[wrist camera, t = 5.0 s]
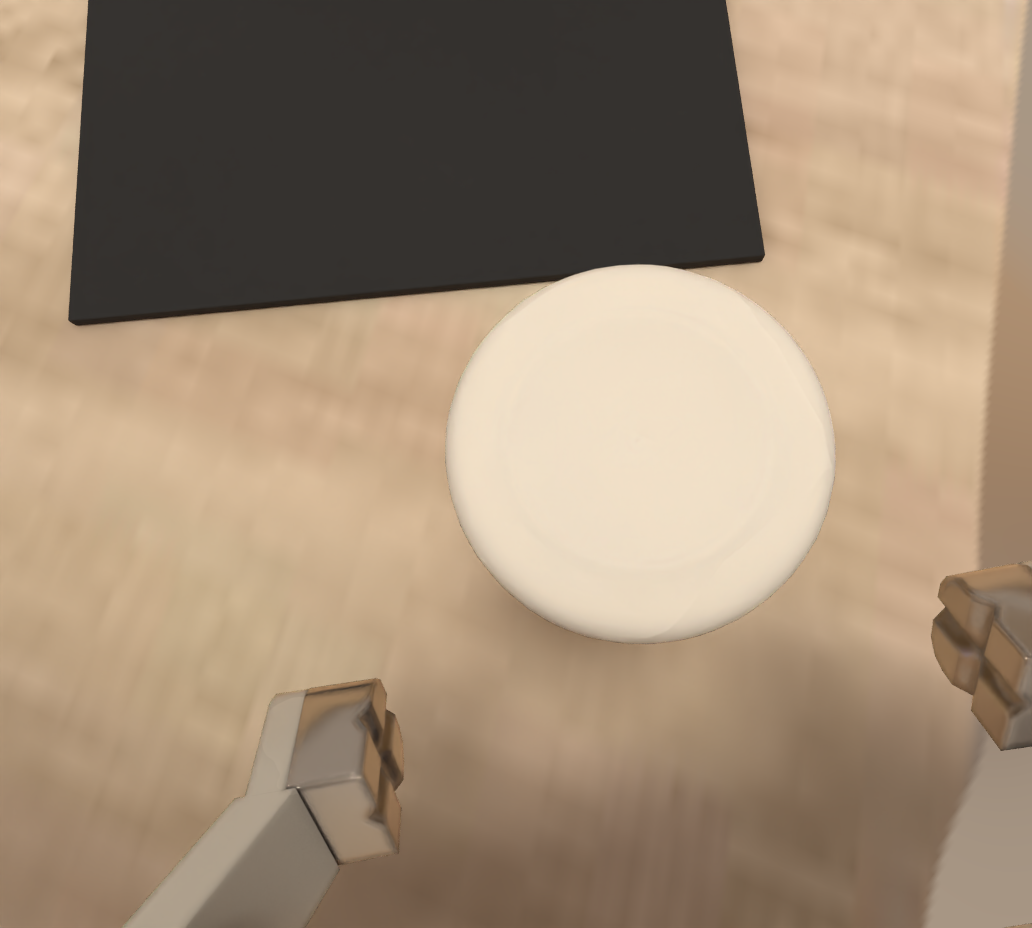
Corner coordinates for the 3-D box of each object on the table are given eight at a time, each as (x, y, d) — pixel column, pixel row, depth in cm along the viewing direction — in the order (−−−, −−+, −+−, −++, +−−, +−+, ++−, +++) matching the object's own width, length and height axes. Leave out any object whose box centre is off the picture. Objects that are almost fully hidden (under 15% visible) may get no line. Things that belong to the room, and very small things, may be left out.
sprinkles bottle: (509, 480, 22) (427, 269, 9) (663, 466, 22) (813, 229, 9) (521, 637, 21) (450, 662, 8) (683, 624, 21) (885, 628, 8)
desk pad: (75, 325, 24) (67, 320, 24) (98, -57, 27) (91, -67, 27) (762, 261, 23) (765, 255, 23) (702, -129, 26) (704, -140, 26)
